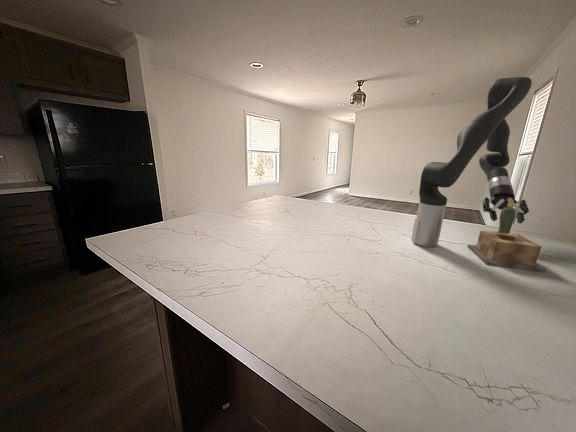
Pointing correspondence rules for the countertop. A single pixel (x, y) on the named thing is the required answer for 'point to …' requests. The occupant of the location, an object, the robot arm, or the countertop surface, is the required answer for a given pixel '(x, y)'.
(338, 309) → the countertop surface
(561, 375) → the countertop surface
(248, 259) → the countertop surface
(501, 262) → the holder
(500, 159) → the robot arm
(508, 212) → the vegetable
